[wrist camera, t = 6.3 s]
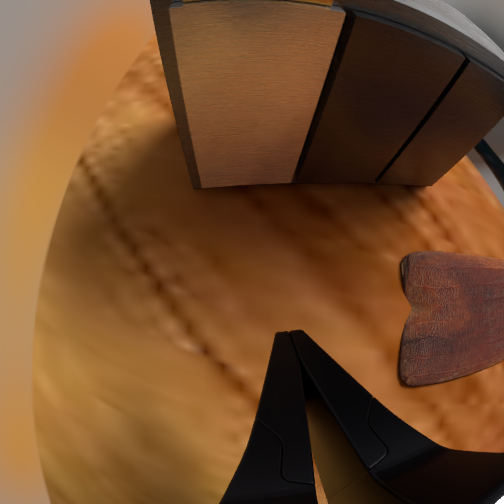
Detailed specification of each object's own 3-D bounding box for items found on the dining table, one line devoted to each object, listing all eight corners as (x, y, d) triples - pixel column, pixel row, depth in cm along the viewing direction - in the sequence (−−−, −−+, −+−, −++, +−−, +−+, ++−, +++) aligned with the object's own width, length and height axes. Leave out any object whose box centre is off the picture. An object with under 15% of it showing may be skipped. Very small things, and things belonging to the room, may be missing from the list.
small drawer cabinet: (429, 193, 19) (537, 87, 5) (193, 198, 18) (141, -19, 4) (396, 116, 22) (460, 9, 8) (195, 109, 20) (177, -50, 6)
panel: (290, 183, 17) (346, 13, 6) (202, 188, 17) (168, 8, 5) (273, 101, 19) (295, -33, 8) (202, 104, 19) (190, -33, 8)
